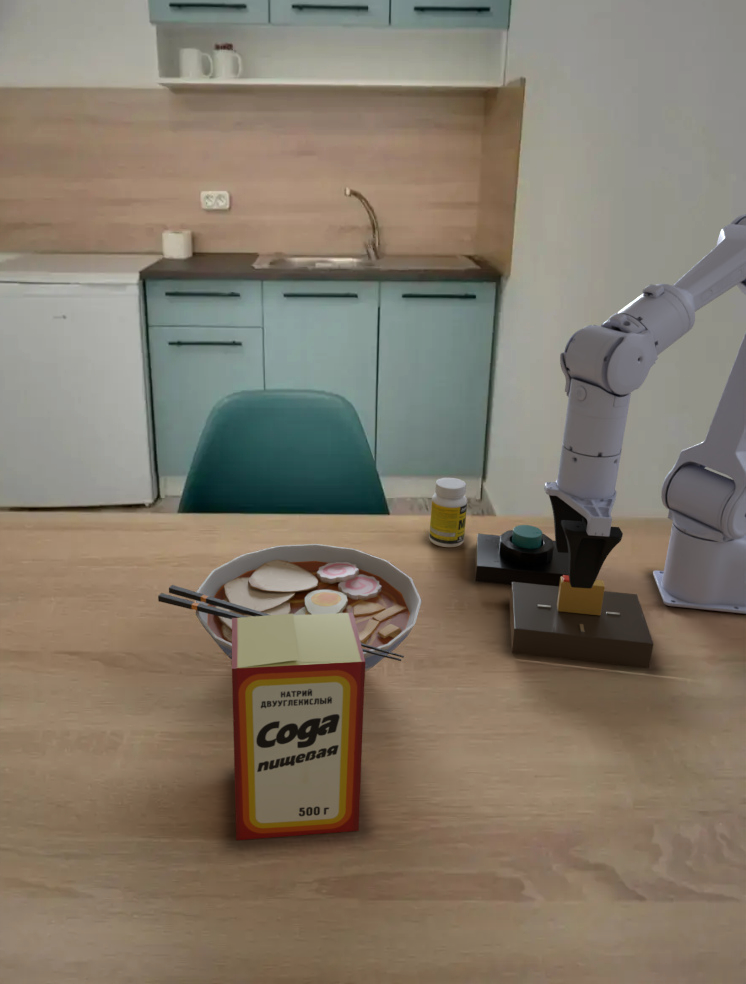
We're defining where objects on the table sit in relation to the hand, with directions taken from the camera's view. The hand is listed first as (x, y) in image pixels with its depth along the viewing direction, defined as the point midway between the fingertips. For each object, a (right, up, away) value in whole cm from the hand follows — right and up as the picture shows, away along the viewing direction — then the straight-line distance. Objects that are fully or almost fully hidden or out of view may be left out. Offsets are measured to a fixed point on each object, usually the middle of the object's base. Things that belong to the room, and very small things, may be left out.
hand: (573, 568), depth 87 cm
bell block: (-1, -3, +18) cm, 18 cm away
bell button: (-1, +1, +16) cm, 16 cm away
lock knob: (+1, -5, +3) cm, 6 cm away
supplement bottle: (-10, 0, +25) cm, 27 cm away
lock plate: (+1, -8, +4) cm, 9 cm away
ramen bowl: (-28, -9, -1) cm, 30 cm away
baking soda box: (-28, -16, -20) cm, 38 cm away
